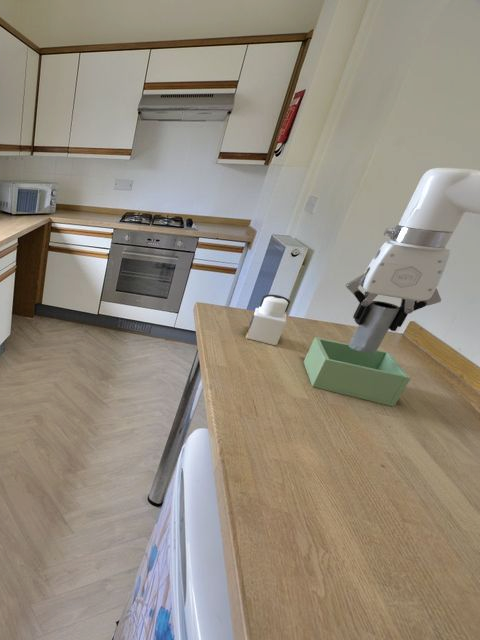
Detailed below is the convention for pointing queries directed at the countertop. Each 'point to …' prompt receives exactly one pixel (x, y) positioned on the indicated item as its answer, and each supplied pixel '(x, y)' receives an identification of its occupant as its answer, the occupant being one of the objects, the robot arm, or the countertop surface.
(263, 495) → the countertop surface
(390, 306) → the grey cylinder
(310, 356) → the basket
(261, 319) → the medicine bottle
